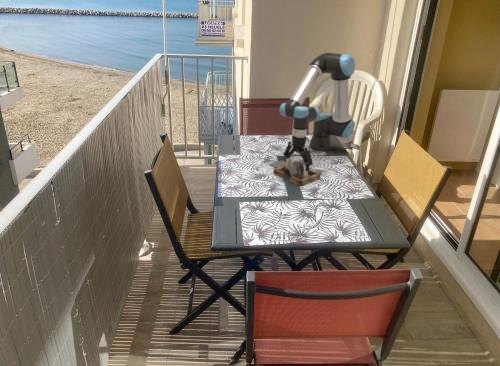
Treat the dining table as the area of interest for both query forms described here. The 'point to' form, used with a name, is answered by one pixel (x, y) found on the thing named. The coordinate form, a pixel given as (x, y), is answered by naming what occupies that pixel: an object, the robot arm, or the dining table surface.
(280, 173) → the frame
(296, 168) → the stone
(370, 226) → the dining table surface
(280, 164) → the slate coaster
